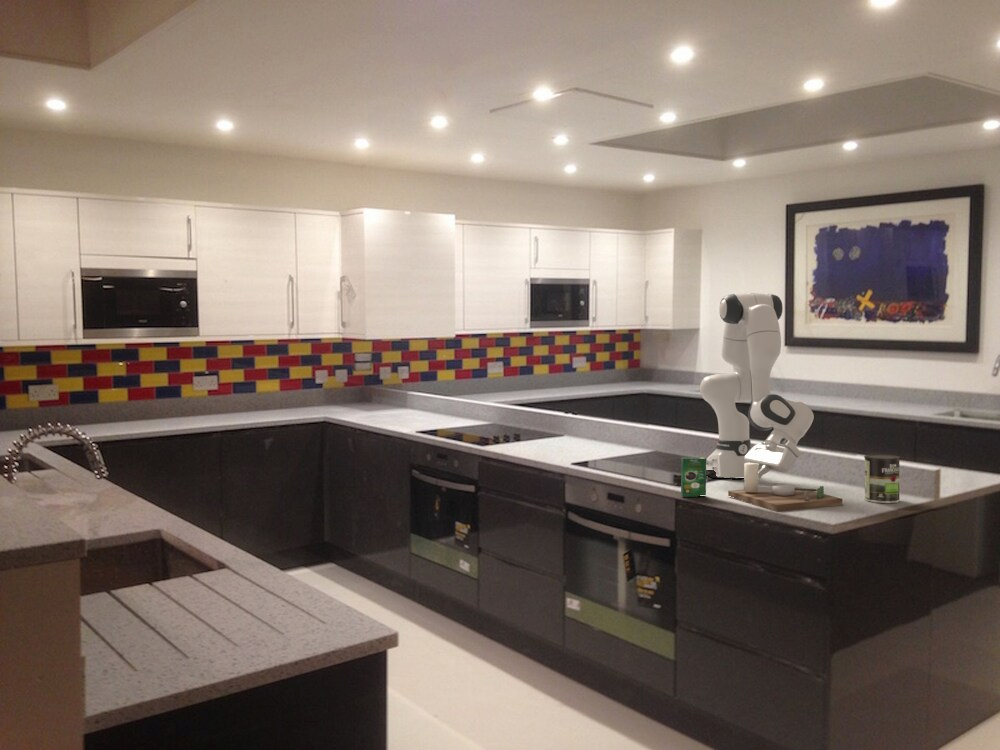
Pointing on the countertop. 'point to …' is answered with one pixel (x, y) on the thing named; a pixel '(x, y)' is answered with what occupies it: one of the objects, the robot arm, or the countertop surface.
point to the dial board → (788, 499)
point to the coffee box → (693, 477)
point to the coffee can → (882, 478)
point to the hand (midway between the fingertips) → (755, 476)
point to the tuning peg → (778, 489)
